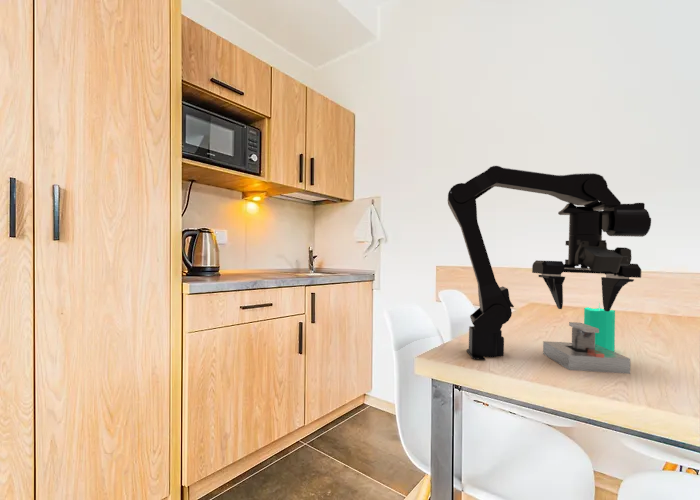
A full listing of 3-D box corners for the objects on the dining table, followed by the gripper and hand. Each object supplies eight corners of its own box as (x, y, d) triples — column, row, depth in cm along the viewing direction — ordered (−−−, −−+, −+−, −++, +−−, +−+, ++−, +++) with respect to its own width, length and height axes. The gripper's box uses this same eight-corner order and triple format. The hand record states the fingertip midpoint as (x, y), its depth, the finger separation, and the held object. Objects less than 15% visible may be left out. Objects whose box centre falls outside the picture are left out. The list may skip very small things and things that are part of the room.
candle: (620, 357, 78) (620, 305, 78) (590, 355, 79) (591, 303, 79) (606, 350, 84) (606, 301, 84) (579, 348, 85) (579, 300, 85)
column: (580, 367, 68) (581, 328, 68) (564, 357, 74) (564, 321, 74) (603, 368, 67) (604, 329, 67) (584, 358, 74) (585, 322, 74)
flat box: (561, 377, 64) (562, 354, 64) (526, 352, 80) (527, 335, 80) (654, 382, 62) (654, 359, 62) (600, 357, 78) (600, 338, 78)
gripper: (557, 232, 64) (555, 314, 64) (664, 234, 62) (663, 319, 62) (532, 235, 75) (530, 305, 75) (622, 237, 73) (621, 310, 73)
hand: (583, 310), depth 71 cm, fingers open, 9 cm apart
